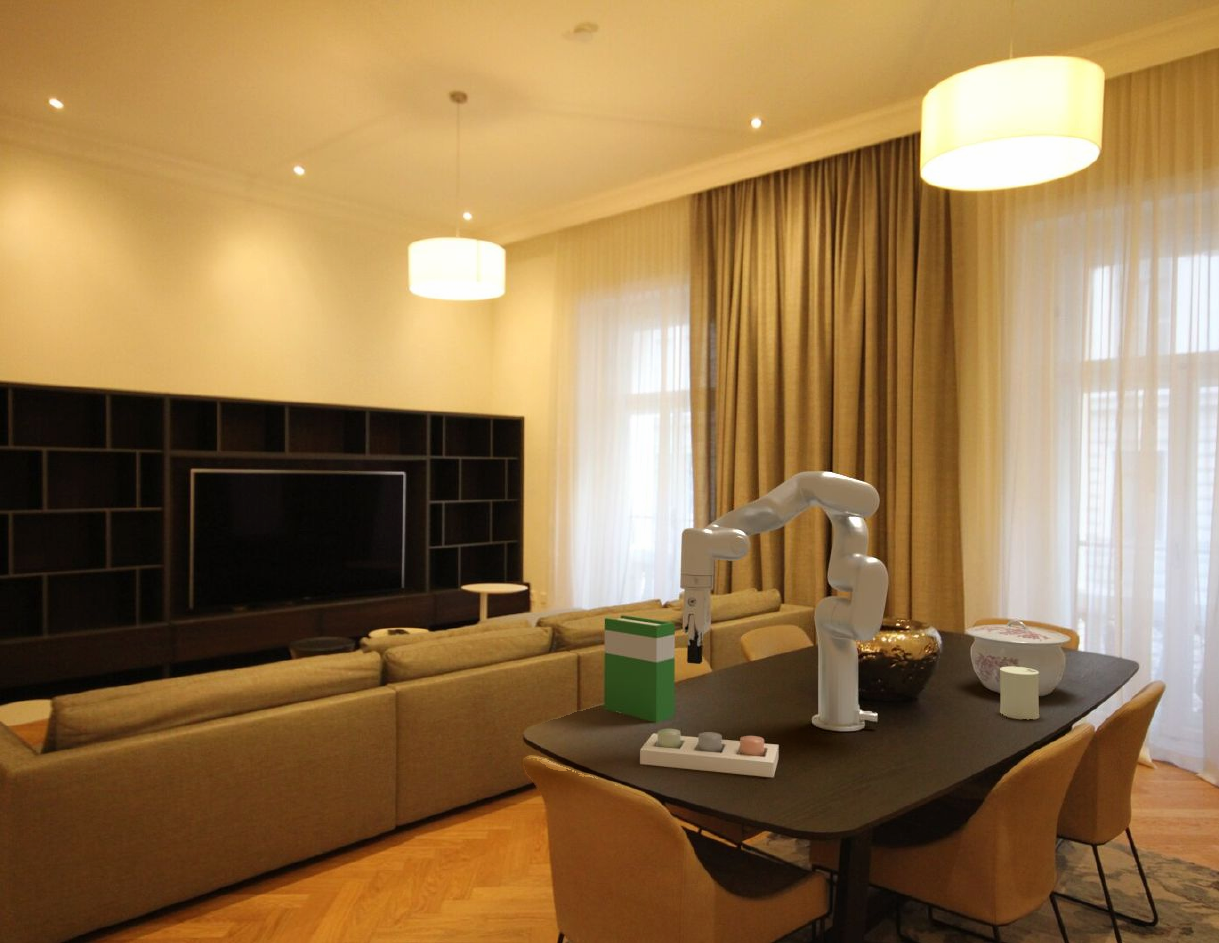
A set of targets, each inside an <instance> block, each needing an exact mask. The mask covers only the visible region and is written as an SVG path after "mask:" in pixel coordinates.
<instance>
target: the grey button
mask: <svg viewBox="0 0 1219 943" xmlns="http://www.w3.org/2000/svg"><path fill="white" fill-rule="evenodd" d="M722 738H723V736H722V734H720V733H718V732H713V731H707V732H700V733H698V751H707V752H717V753H722V740H723V739H722Z"/></svg>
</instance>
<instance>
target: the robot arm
mask: <svg viewBox="0 0 1219 943" xmlns="http://www.w3.org/2000/svg"><path fill="white" fill-rule="evenodd" d="M879 506H880V494H879V493H878V491H877V489H876V488H875V487H874V486H873V485H872V484H870V483H868V482H865V481H862V480H858V479H855V478H852V477H848V476H844V475H841V474H838V473H834V472H832V471H824V470H823V471H822V470H819V471H816V470H815V471H801V472H798V473H796V474H794V475H793V476H792V477H791V476H790V478H789V479H788V478H787V480H785V481H784V482H782V483H780V484H779V485H778V486H777V487H775V488H773V489H772V490H771V491H769V492H767V494H766V493H765V495H763V496H761V497H760V498H757V499H756V500H753V501H751V502H748V503H746V504H744V505H742V506H739V507H736V508H735V509H733V510H730V511H729V512H727V513H724V514H723V515H721V516H719V517H718V518H716V519H715V520H713V521H712V522H710V523H709V524H708V525H707V526H706V527H688V528H687V527H686V528H684V529H683V530H682V533H681V544H680V545H681V548H680V549H681V550H680V577H679V578H680V582H679V583H680V584H679V585H680V586H679V588H680V589H683V590H684V591H683V603H682V604H683V606H682V607H683V608H682V632H684V633H685V634H687V646H686V647H687V650H686V651H687V654H686V662H687V663H688V664H694V665H700V664H702V662H703V650H704V649H703V648H704V646H703V641H704V640H703V639H704V638H703V637H704V635H705V634H706V633H707V632H709V631H710V629H711V628H712V615H711V614H712V612H711V610H712V607H711V603H712V602H711V601H712V599H711V591H713V590H714V575H715V574H714V572H715V570H714V569H715V563H714V562H715V560H723V561H728V562H735V561H739V560H742V559H743V558H744V557H746V556H747V554H748V553H749V551H750V549H751V542H750V538H749V536H753V535H756V534H761V533H762V534H763V533H766V532H771V531H775V530H777V529H778V530H779V529H780V528H782V527H784V526H785V525H787V524H788V523H789V522H791V521H793V520H794V519H795V518H797V517H799V515H801V514H802V513H804V512H806V510H809V509H810V508H812V507H821V509H822V510H823V511H824V513H825V515H826V516H827V517H828V518H829V520H830V523H831V525H832V529H833V541H832V546H831V547H832V548H831V552H830V553H831V554H830V559H829V563H828V569H827V582H828V584H829V585H830V587H831V588H833V590H837V591H839V592H843V593H847V594H852V596H851V597H852V598H849V597H843V596H836V595H831V596H827V597H823V598H822V599H821V600H820V601H819V602H818V603H817V604H816V607H815V609H814V614H813V617H814V625H815V630H816V631H815V632H816V638H817V647H818V653H817V654H818V658H817V659H818V665H817V668H818V671H817V672H818V673H817V674H818V677H817V678H818V679H817V680H818V681H817V683H818V684H817V686H818V689H817V691H818V695H817V696H818V697H817V698H818V699H817V700H818V701H817V702H818V704H817V707H818V713H817V714H815V715H813V716H812V717H811V723H812V725H814V726H816V727H818V728H821V729H822V730H827V731H833V732H855V731H860V730H862V729H864V728H865V725H866V724H865V723H866V722H865V721H870V722H878V713H877V712H873V711H872V710H871V711H870V710H866V711H865V710H862V709H860V704H859V652H858V647H857V643H856V642H863V643H866V642H869V641H871V640H873V639H874V638H876V636H877V635H878V634H879V632H880V630H881V627H882V623H883V618H884V612H885V608H886V602H887V597H888V596H887V595H888V590H889V573H888V569H887V567H886V566H885V564H884V563H883V562H882V561H881V560H880V559H878V558H875V557H873V556H868V550H869V542H870V533H869V532H870V531H869V529H868V525H867V523H866V521H865V518H868V517H871V516H873V515H874V514H875V513H876V511H877V510H878V509H879Z"/></svg>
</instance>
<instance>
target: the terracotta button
mask: <svg viewBox="0 0 1219 943" xmlns="http://www.w3.org/2000/svg"><path fill="white" fill-rule="evenodd" d="M739 739H740V740H739V741H740V755H748V756H759V757H764V744H765V739H764V738H763V737H761V736H756V735H746V736H745V735H744V736H741V737H740V738H739Z"/></svg>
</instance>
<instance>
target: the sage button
mask: <svg viewBox="0 0 1219 943" xmlns="http://www.w3.org/2000/svg"><path fill="white" fill-rule="evenodd" d="M657 734H658V747H665V748H675V749H680V748H681V736H682V734H681V731H680V730H678V729H676V728H661V729H659V730H657Z"/></svg>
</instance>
